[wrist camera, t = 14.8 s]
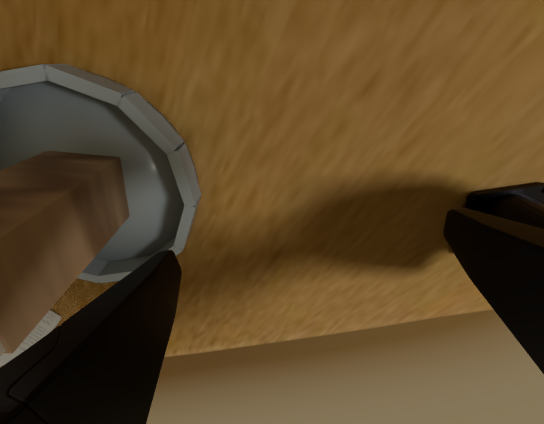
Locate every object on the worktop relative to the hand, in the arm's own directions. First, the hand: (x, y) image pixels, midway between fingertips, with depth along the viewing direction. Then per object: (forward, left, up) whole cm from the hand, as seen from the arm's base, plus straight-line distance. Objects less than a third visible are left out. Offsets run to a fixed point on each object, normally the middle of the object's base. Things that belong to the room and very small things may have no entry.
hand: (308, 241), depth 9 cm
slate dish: (+15, +1, -13) cm, 20 cm away
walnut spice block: (+15, +1, -12) cm, 19 cm away
